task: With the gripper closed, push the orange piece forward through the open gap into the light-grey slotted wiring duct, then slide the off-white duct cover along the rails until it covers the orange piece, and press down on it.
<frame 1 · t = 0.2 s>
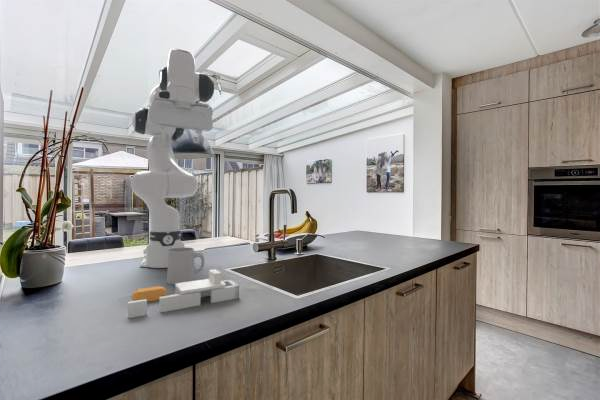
hand: (181, 141, 101), 47 cm above the countertop, fingers open, 8 cm apart
cover: (200, 279, 86), point 6 cm above the countertop, slide at 12.0 cm
mug: (186, 281, 105), on the countertop
orange piece: (149, 299, 86), on the countertop
duct: (185, 303, 84), on the countertop
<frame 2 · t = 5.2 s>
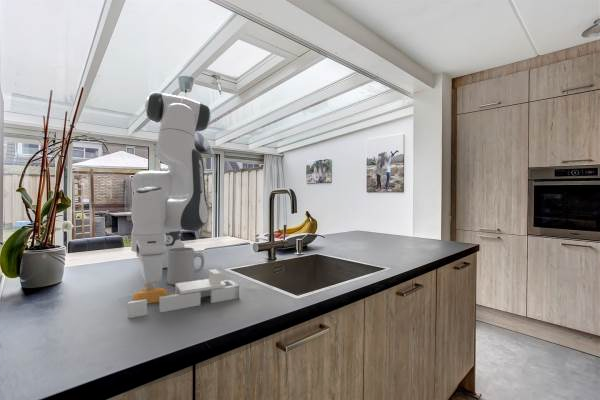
hand: (148, 291, 87), 2 cm above the countertop, fingers closed
orange piece: (150, 301, 85), on the countertop, touching gripper
everything else where it was.
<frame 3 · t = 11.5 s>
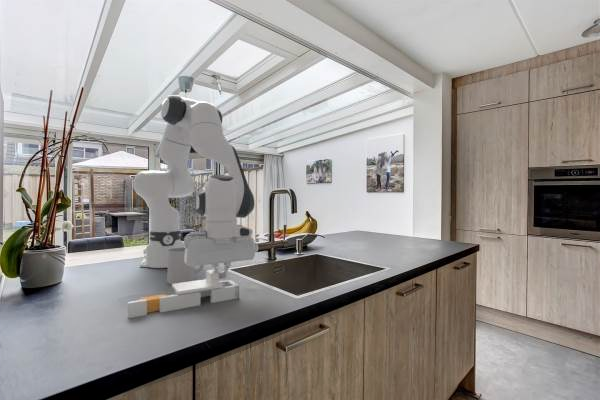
hand: (220, 277, 89), 6 cm above the countertop, fingers closed
cover: (197, 280, 85), point 6 cm above the countertop, slide at 11.2 cm, touching gripper
orange piece: (153, 309, 79), on the countertop
everything else where it was.
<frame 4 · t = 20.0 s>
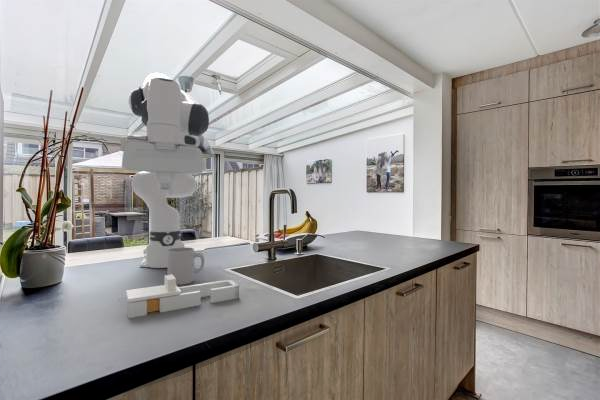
hand: (164, 189, 83), 31 cm above the countertop, fingers closed
cover: (153, 286, 79), point 6 cm above the countertop, slide at 0.0 cm
everything else where it was.
at the end: orange piece inside the target area (0.4 cm from its centre), on the countertop; cover slide at 0.0 cm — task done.
